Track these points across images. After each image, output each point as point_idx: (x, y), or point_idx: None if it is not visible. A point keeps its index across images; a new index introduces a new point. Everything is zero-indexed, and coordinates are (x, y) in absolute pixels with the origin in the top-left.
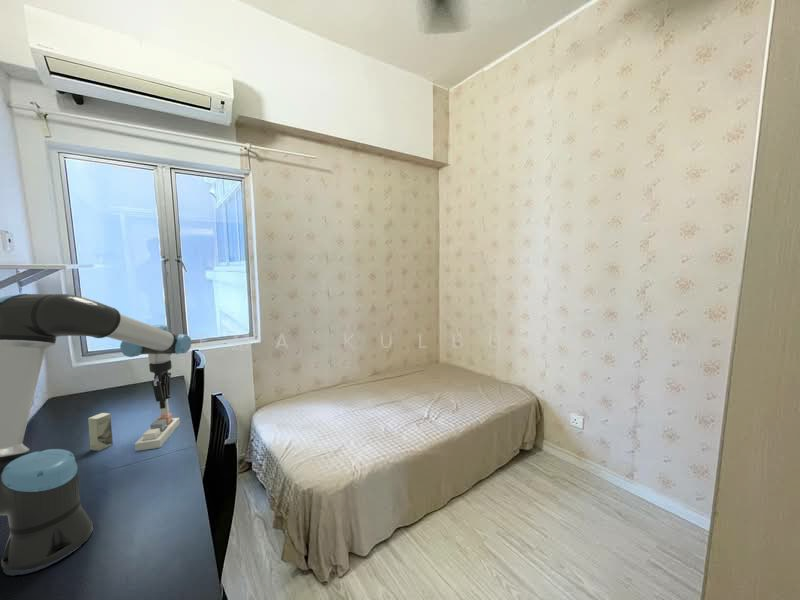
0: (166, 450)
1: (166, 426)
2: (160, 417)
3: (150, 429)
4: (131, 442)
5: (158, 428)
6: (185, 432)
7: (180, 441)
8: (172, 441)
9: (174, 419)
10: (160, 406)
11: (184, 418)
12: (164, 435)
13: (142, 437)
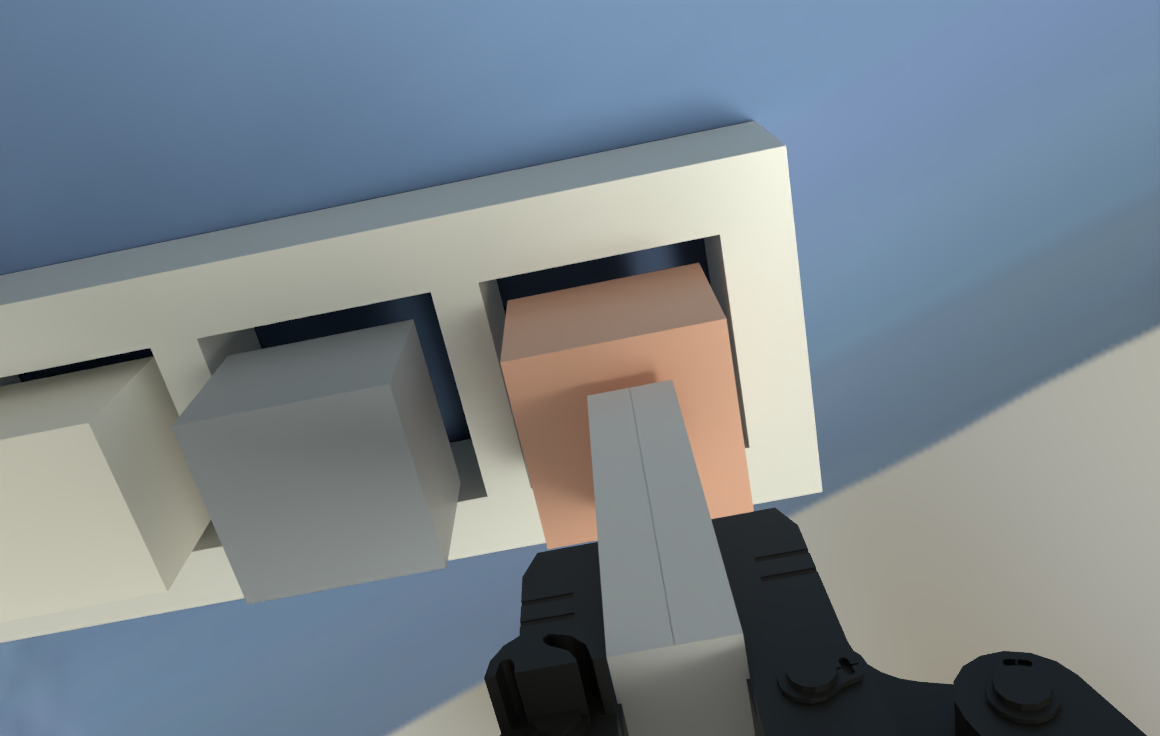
0: (4, 678)
1: (456, 484)
2: (547, 405)
3: (96, 464)
4: (154, 7)
5: (153, 577)
6: (483, 649)
7: (234, 713)
8: (228, 625)
9: (746, 455)
10: (526, 610)
11: (1007, 388)
12: (179, 600)
13: (33, 328)
